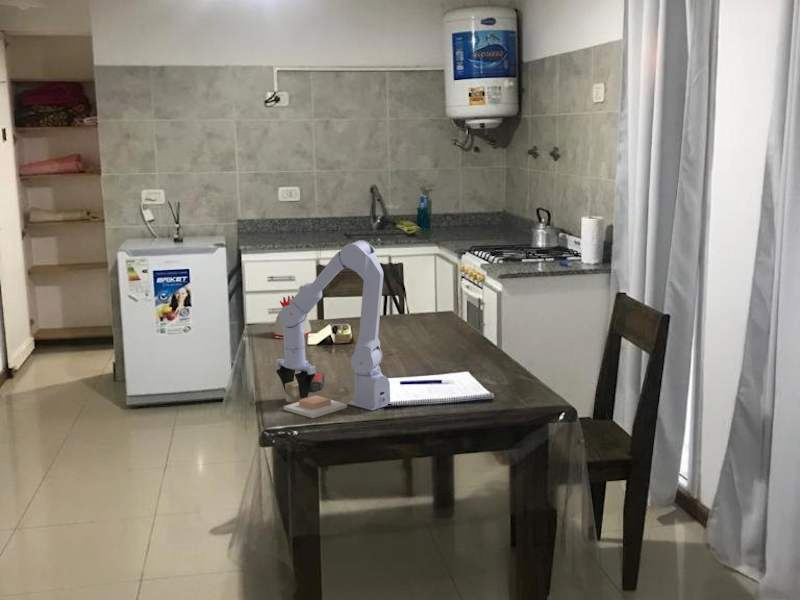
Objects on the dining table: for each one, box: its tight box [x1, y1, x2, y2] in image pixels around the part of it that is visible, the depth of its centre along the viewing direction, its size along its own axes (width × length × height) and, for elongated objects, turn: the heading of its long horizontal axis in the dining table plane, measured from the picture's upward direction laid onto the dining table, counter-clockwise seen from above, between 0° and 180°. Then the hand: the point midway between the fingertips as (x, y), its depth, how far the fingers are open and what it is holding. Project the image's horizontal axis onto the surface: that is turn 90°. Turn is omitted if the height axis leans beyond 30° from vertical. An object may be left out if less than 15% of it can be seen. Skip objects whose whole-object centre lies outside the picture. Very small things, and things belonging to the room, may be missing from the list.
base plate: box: [282, 395, 348, 419], centre depth 248 cm, size 12×12×2 cm
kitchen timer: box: [273, 295, 312, 337], centre depth 342 cm, size 14×14×15 cm
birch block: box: [284, 380, 309, 404], centre depth 257 cm, size 4×4×5 cm
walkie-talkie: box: [295, 370, 325, 392], centre depth 269 cm, size 9×4×20 cm
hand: (296, 395), depth 257 cm, fingers open, 6 cm apart
